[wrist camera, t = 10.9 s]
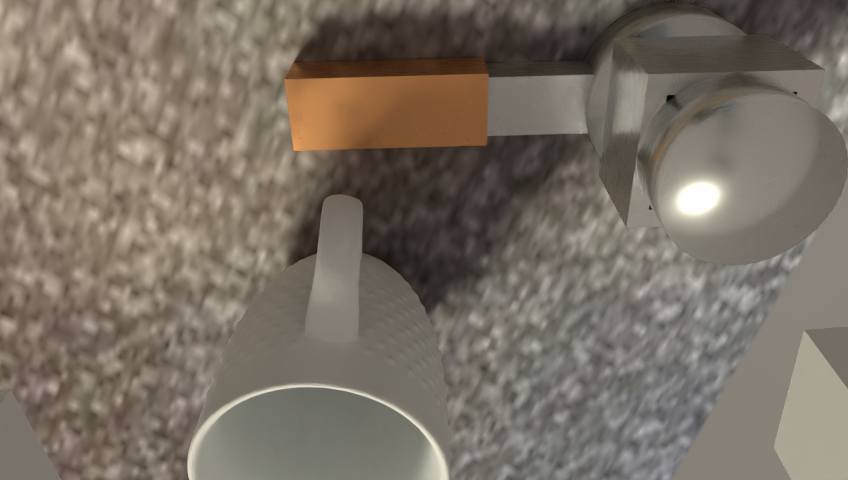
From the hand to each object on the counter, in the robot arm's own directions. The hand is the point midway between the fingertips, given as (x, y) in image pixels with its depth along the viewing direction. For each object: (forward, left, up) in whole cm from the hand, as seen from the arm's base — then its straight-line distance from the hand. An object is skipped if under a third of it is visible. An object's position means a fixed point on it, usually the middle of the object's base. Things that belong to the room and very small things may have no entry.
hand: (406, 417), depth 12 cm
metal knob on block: (+2, +12, -21) cm, 24 cm away
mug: (+13, -4, -24) cm, 28 cm away
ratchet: (+2, +5, -24) cm, 24 cm away
